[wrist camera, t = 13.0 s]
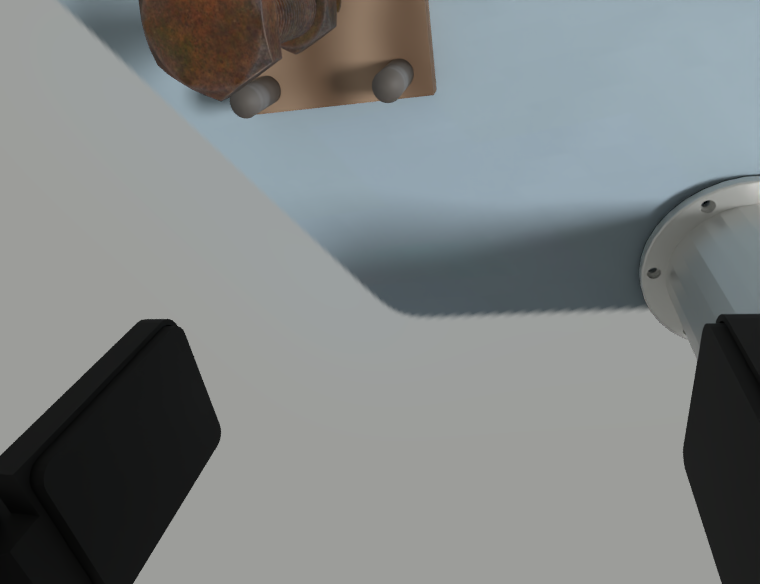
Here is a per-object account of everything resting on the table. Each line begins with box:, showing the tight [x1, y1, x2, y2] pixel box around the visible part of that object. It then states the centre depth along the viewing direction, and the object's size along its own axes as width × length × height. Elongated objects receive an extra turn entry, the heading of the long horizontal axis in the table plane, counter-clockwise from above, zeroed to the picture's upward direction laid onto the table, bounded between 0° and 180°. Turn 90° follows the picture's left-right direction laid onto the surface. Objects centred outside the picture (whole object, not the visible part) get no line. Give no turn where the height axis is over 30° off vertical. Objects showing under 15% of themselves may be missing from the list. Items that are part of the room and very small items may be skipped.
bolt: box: [139, 0, 341, 101], centre depth 28 cm, size 6×5×15 cm
